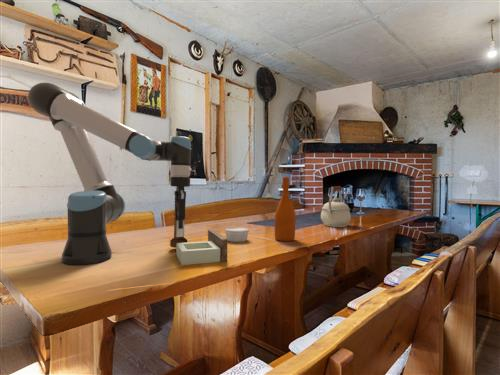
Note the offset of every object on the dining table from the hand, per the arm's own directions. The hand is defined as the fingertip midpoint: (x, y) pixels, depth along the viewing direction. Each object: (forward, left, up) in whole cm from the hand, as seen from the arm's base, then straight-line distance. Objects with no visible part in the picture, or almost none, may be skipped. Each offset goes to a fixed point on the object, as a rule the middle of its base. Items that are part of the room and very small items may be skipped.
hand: (179, 235), depth 117 cm
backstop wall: (+12, -12, -6) cm, 18 cm away
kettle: (+101, +35, -6) cm, 107 cm away
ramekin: (+28, +12, -6) cm, 31 cm away
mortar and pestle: (0, 0, -4) cm, 4 cm away
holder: (+4, -15, -6) cm, 17 cm away
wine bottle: (+50, +6, -6) cm, 51 cm away
